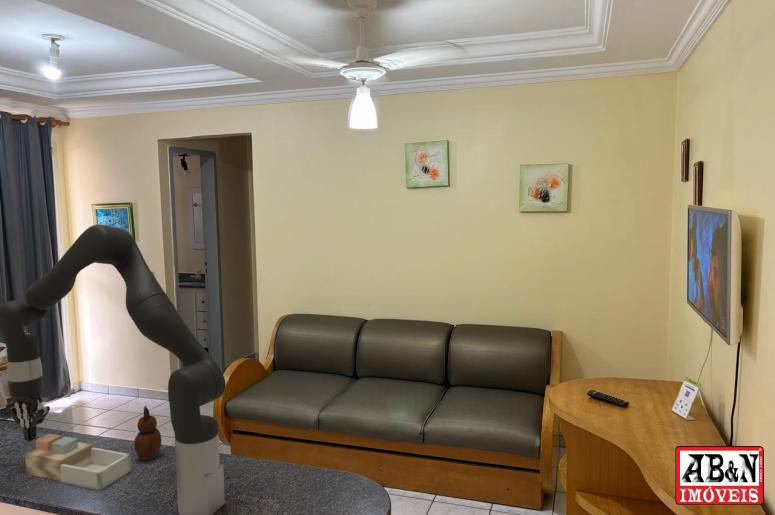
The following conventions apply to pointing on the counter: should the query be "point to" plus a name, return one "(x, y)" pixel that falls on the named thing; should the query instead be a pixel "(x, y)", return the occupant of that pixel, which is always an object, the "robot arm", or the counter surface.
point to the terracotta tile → (46, 442)
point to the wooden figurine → (147, 437)
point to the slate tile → (65, 445)
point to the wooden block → (56, 461)
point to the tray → (97, 470)
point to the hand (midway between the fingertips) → (30, 439)
